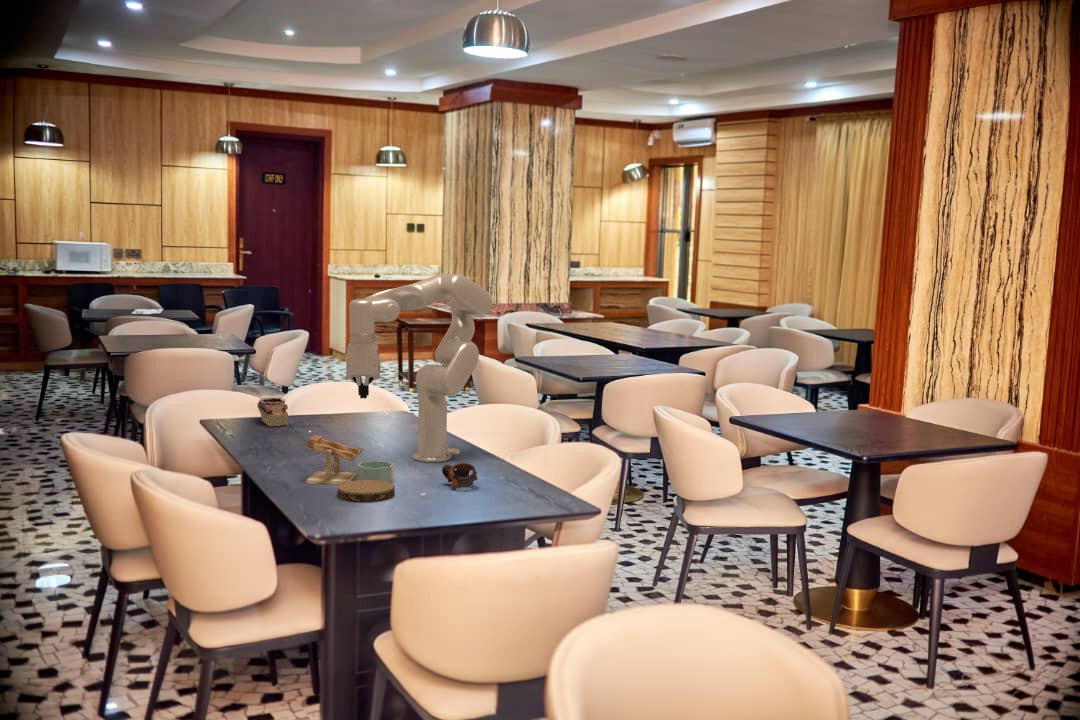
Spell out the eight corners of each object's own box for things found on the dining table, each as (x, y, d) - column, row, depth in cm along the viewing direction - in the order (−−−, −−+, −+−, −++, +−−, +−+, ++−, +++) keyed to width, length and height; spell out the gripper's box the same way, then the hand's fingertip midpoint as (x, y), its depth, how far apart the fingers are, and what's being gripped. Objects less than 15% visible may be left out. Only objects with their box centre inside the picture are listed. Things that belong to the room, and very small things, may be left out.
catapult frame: (358, 475, 308) (358, 443, 306) (349, 484, 296) (349, 451, 295) (316, 474, 308) (316, 442, 307) (305, 483, 296) (305, 449, 295)
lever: (362, 452, 312) (365, 442, 312) (351, 462, 297) (353, 452, 296) (319, 439, 313) (322, 429, 312) (305, 449, 297) (308, 439, 296)
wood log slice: (370, 506, 273) (370, 495, 272) (325, 498, 280) (325, 487, 280) (405, 494, 286) (406, 484, 286) (362, 487, 294) (362, 477, 294)
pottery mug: (483, 486, 301) (483, 465, 296) (467, 505, 294) (467, 485, 289) (448, 471, 305) (448, 451, 300) (432, 490, 298) (432, 470, 293)
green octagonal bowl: (395, 477, 306) (395, 461, 306) (389, 485, 296) (389, 468, 295) (362, 476, 307) (362, 460, 306) (354, 484, 296) (354, 467, 296)
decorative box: (253, 428, 383) (253, 403, 382) (249, 420, 402) (249, 396, 401) (288, 427, 387) (288, 402, 386) (283, 418, 406) (283, 395, 405)
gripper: (388, 338, 314) (389, 395, 317) (341, 338, 314) (342, 395, 317) (384, 340, 307) (385, 400, 309) (335, 340, 307) (337, 399, 309)
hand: (363, 397), depth 313 cm, fingers closed
